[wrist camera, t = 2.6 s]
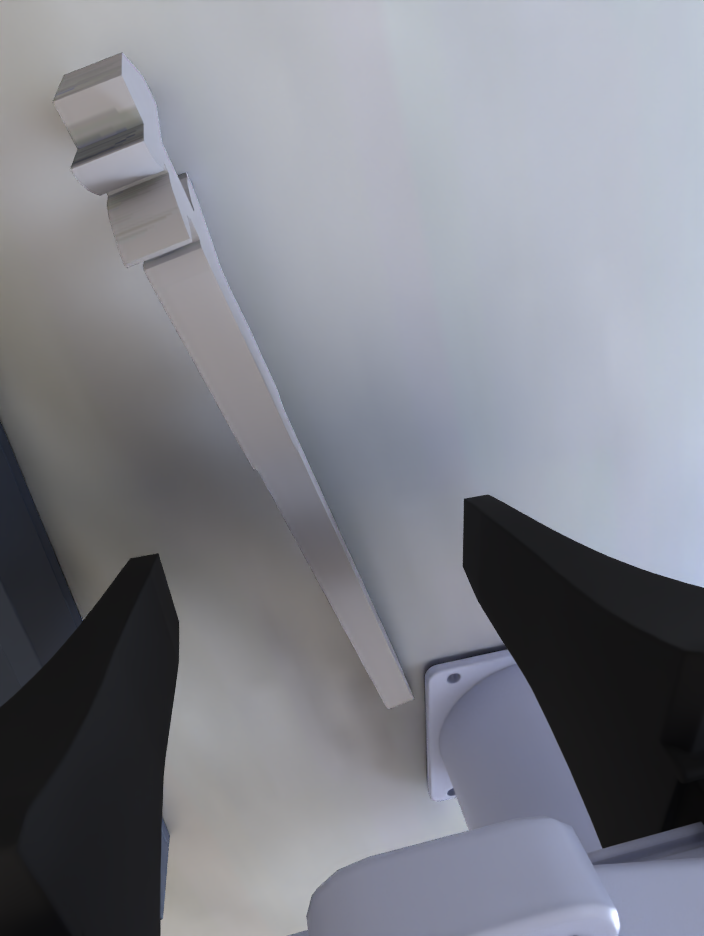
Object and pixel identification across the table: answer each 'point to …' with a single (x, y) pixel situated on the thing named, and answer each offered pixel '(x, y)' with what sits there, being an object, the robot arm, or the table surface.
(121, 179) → the caliper
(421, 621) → the table surface
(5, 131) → the table surface
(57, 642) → the tool tray
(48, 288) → the table surface
